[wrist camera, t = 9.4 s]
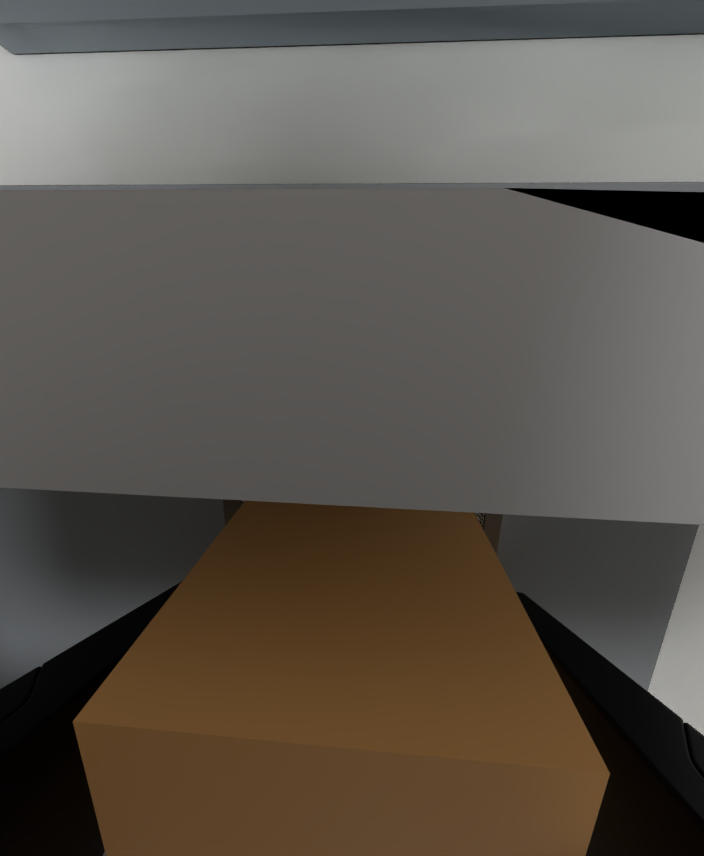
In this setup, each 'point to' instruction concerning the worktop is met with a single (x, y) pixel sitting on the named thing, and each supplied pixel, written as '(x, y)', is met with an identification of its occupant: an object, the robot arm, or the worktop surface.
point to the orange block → (341, 701)
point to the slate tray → (323, 22)
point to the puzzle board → (350, 386)
